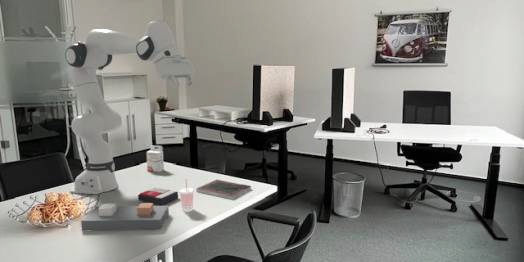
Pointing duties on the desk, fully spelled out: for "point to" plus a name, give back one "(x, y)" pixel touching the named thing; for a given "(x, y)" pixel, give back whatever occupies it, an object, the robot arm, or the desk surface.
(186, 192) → the beverage cup
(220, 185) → the picture frame
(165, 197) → the calculator
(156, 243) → the desk surface
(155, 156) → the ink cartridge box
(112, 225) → the console
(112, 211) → the key white
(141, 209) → the key terracotta
